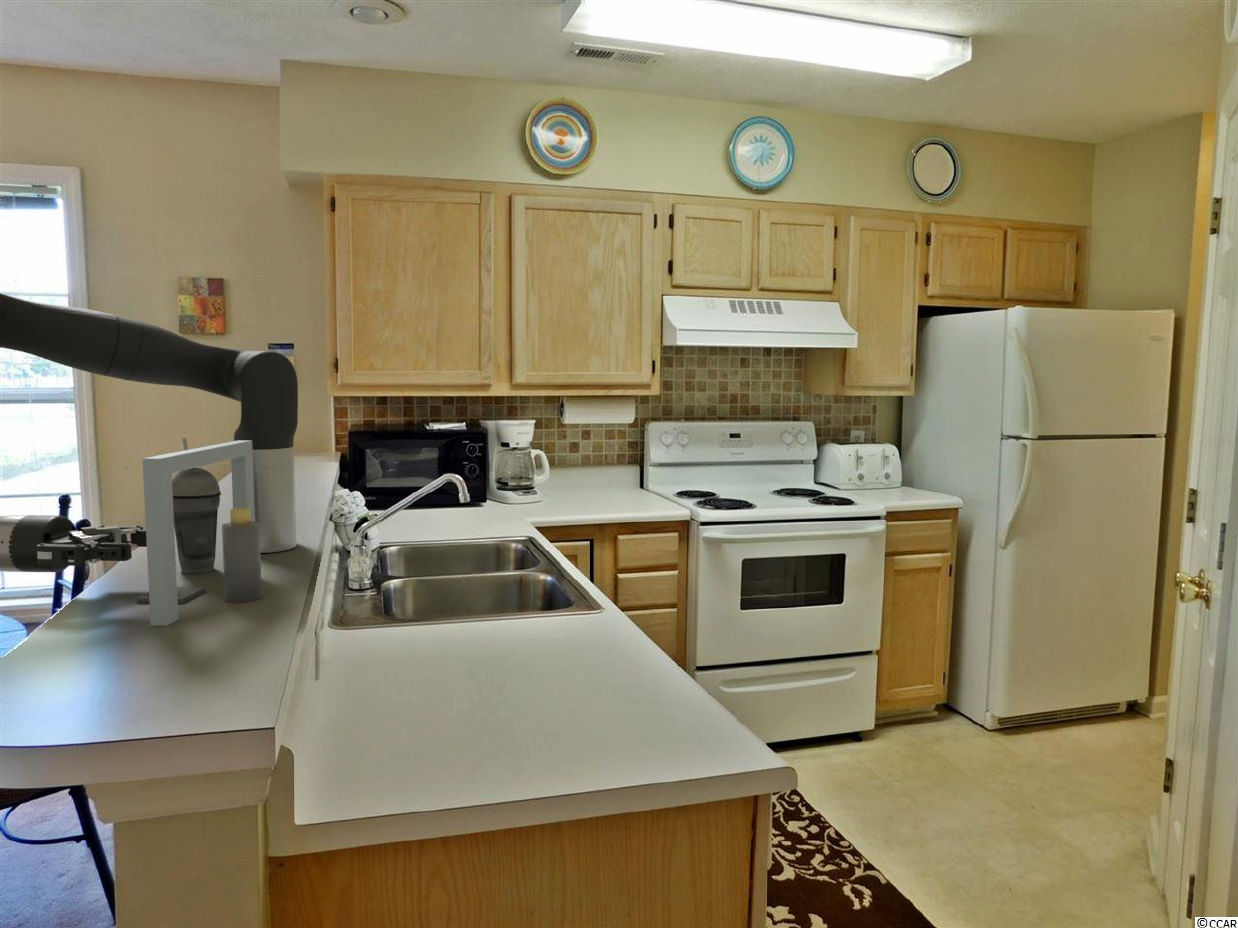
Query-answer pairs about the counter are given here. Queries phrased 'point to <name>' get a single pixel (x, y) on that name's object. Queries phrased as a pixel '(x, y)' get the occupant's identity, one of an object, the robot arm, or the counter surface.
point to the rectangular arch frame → (162, 516)
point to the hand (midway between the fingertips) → (148, 545)
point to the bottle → (241, 557)
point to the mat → (178, 594)
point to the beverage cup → (195, 518)
